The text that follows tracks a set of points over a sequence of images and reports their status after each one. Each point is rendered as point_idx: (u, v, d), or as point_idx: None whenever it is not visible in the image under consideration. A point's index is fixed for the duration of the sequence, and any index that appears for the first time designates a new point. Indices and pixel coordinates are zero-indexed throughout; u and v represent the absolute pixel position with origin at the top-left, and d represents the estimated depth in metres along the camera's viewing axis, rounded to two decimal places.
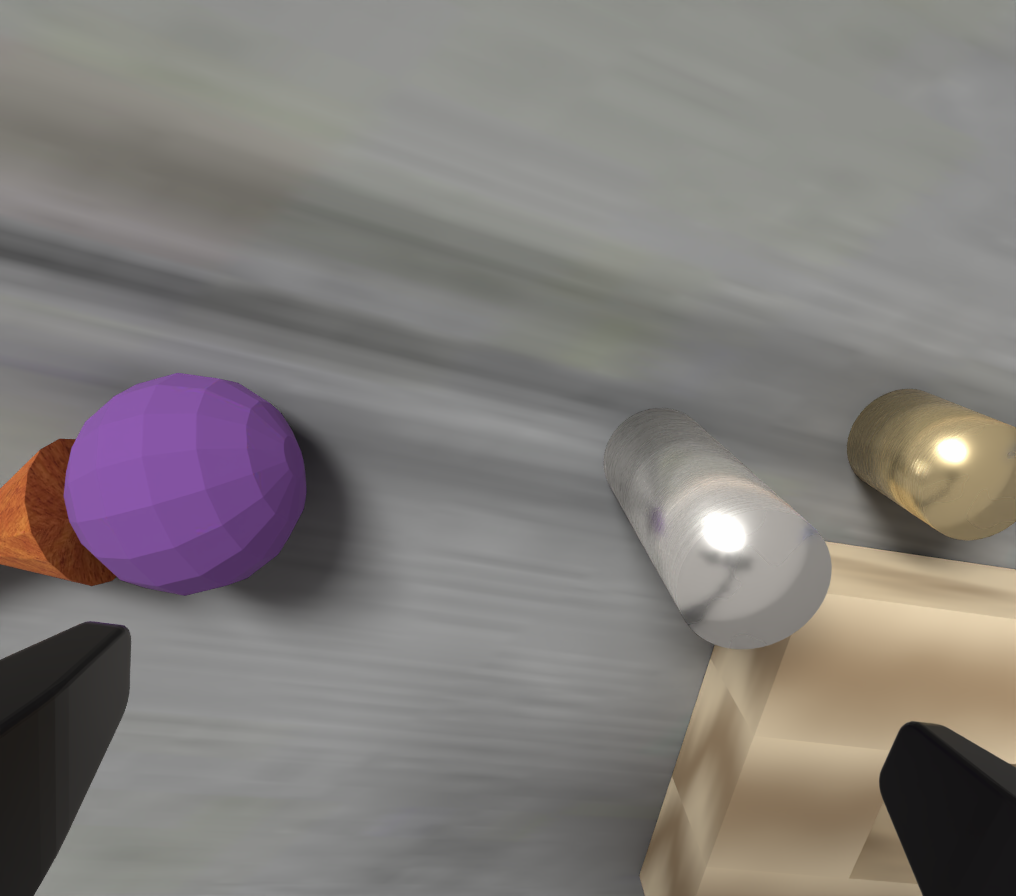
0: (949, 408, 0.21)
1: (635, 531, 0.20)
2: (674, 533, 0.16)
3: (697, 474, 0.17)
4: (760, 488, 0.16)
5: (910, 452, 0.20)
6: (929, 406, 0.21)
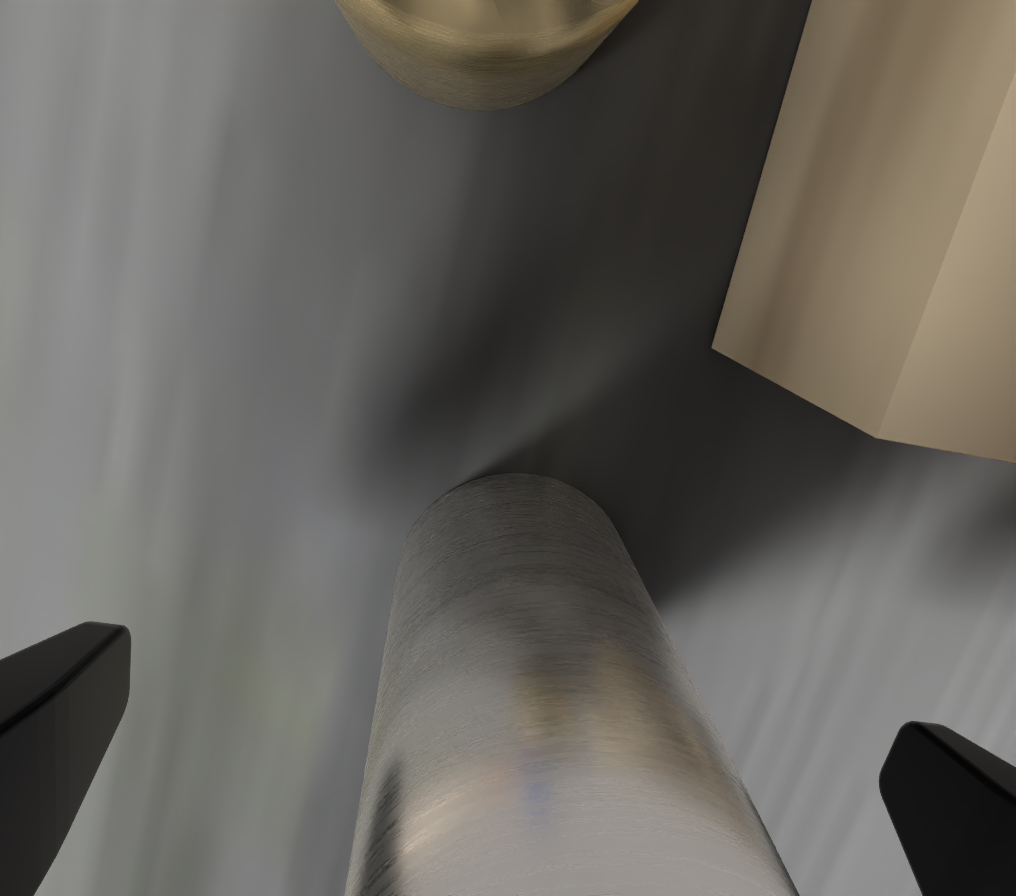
0: None
1: None
2: None
3: None
4: None
5: (410, 43, 0.06)
6: None
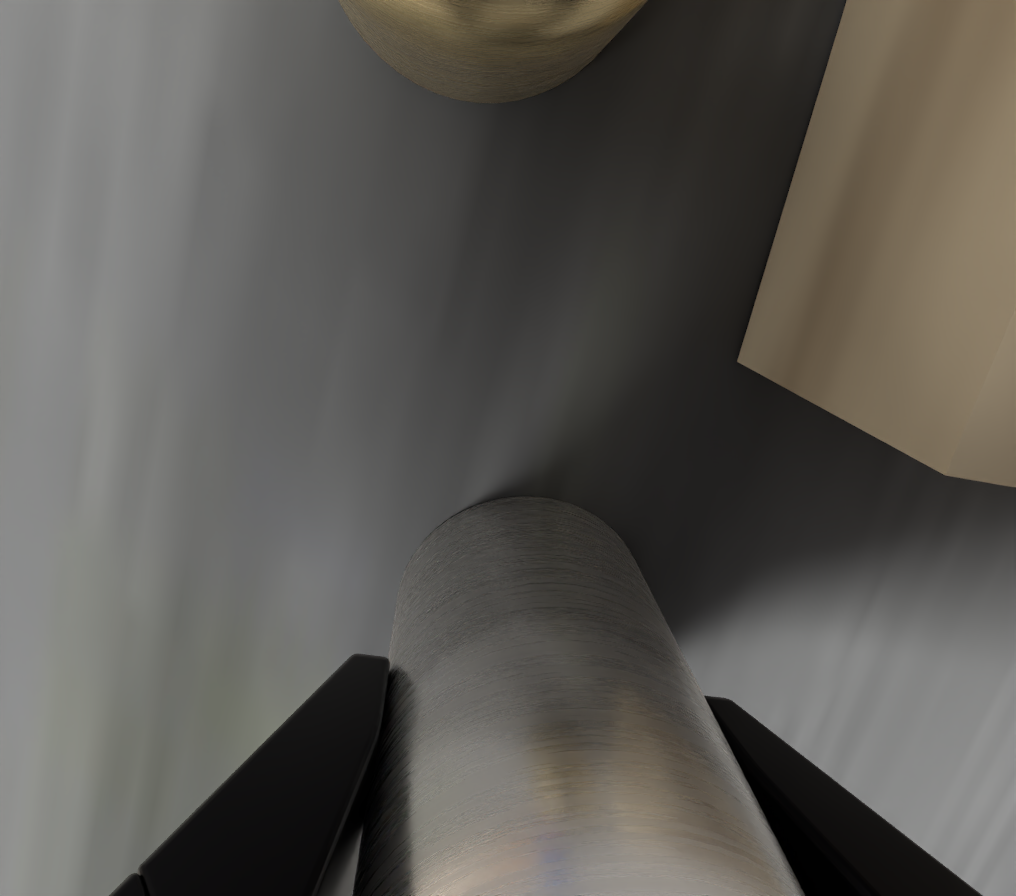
0: None
1: None
2: None
3: None
4: None
5: (411, 20, 0.05)
6: None
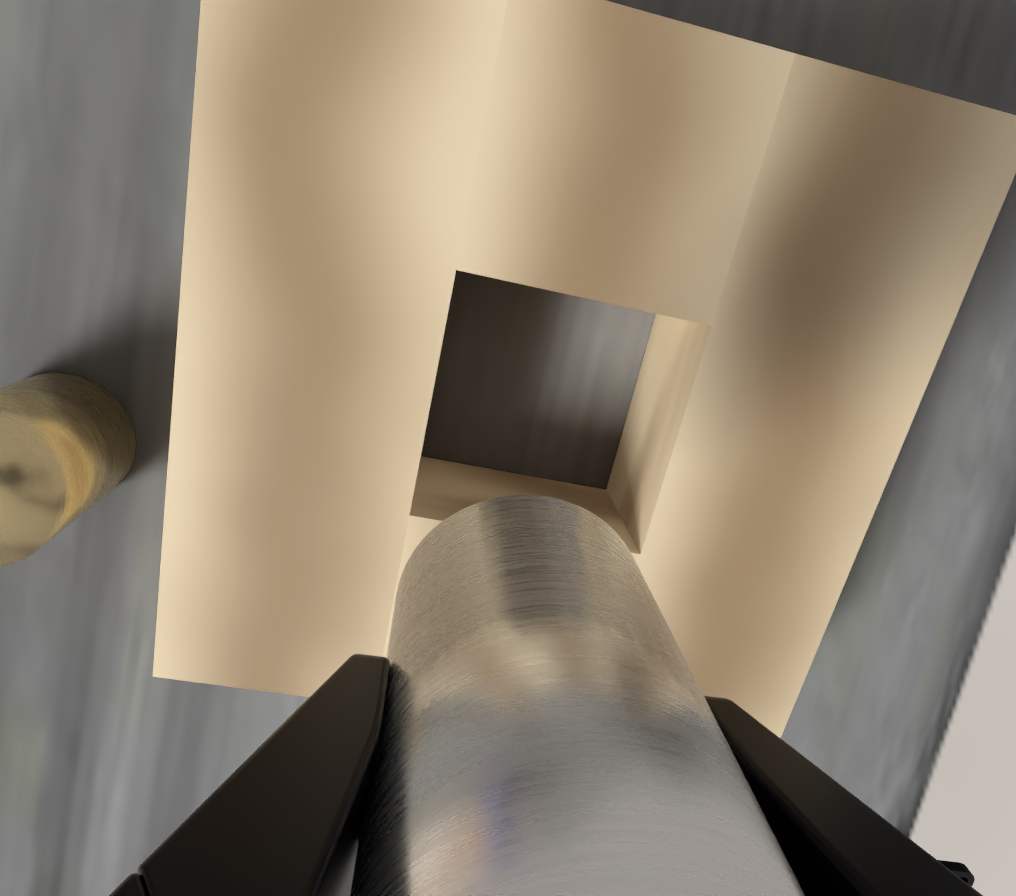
0: None
1: None
2: None
3: None
4: None
5: None
6: None
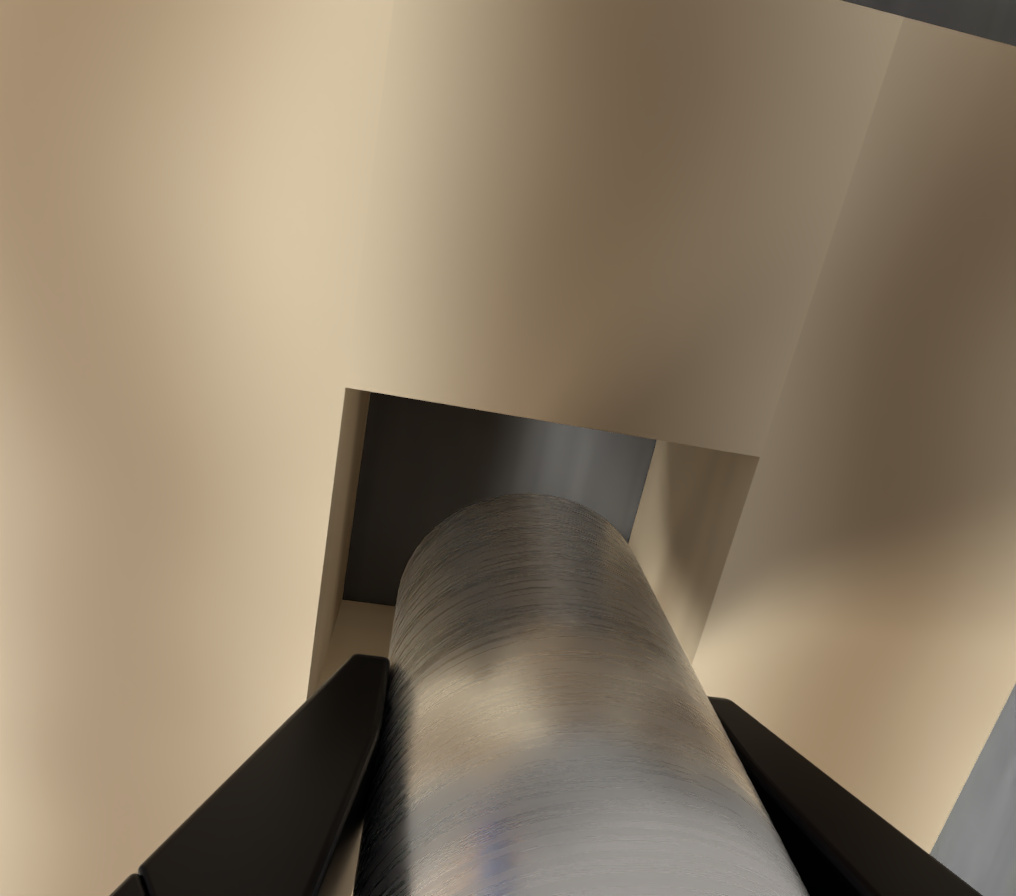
0: None
1: None
2: None
3: None
4: None
5: None
6: None
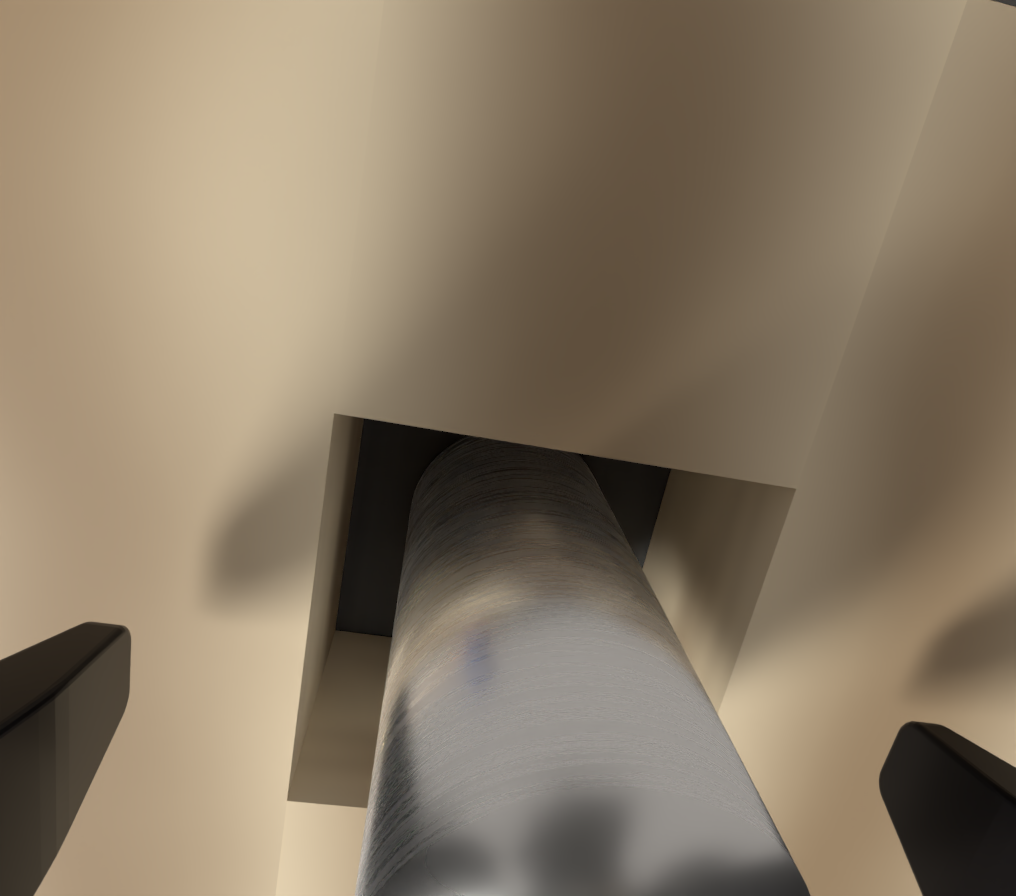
0: None
1: None
2: None
3: None
4: (372, 791, 0.06)
5: None
6: None
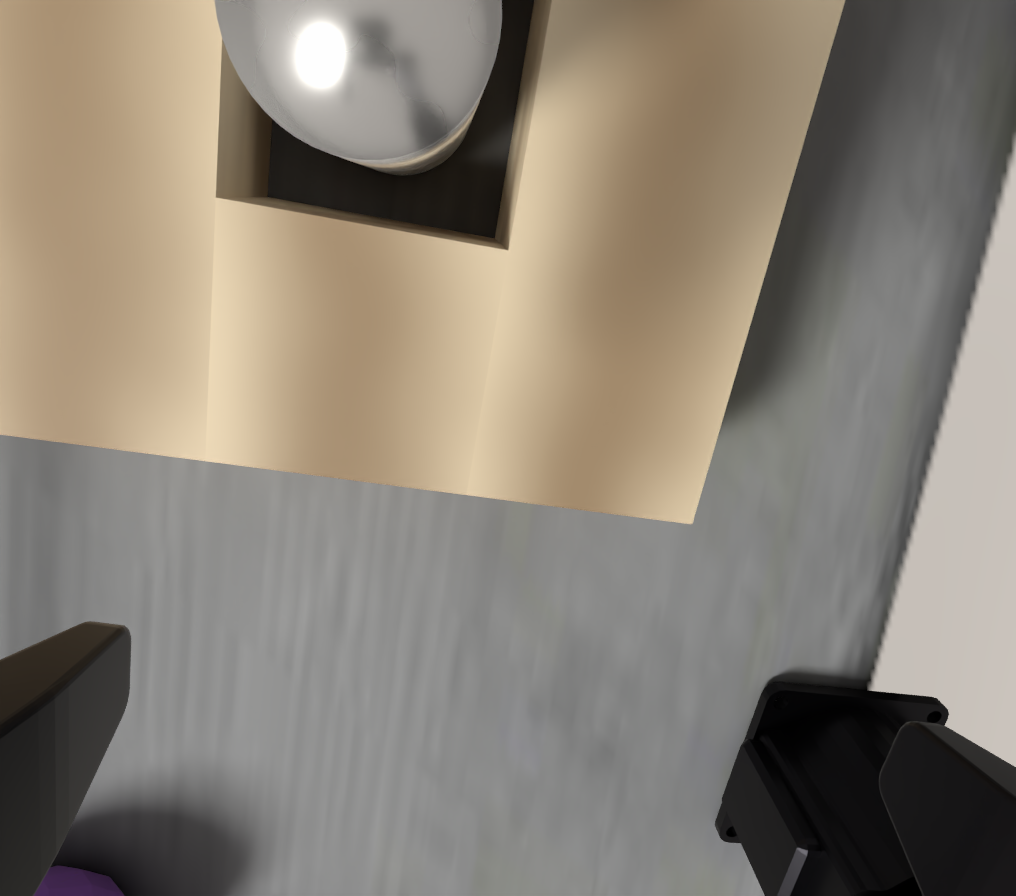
0: None
1: (431, 160, 0.13)
2: None
3: None
4: None
5: None
6: None
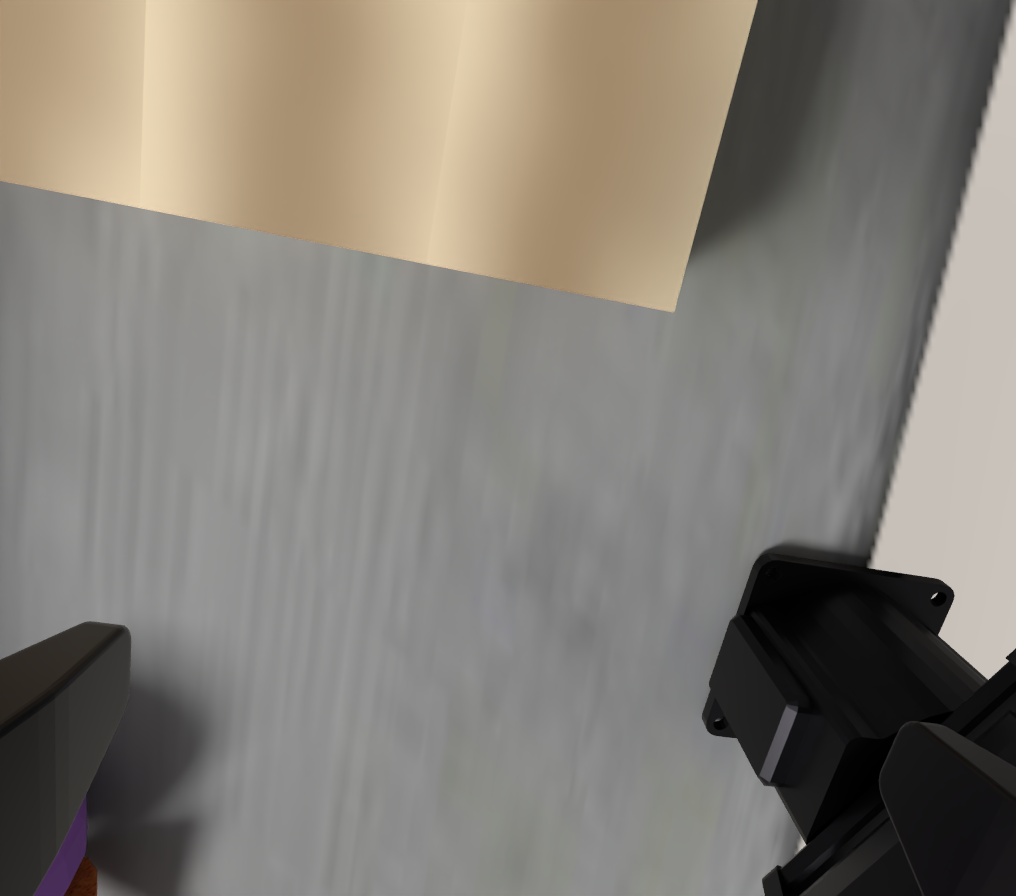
0: None
1: None
2: None
3: None
4: None
5: None
6: None
